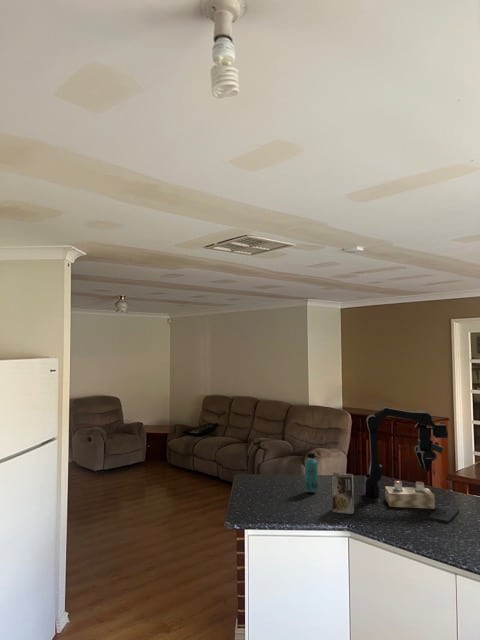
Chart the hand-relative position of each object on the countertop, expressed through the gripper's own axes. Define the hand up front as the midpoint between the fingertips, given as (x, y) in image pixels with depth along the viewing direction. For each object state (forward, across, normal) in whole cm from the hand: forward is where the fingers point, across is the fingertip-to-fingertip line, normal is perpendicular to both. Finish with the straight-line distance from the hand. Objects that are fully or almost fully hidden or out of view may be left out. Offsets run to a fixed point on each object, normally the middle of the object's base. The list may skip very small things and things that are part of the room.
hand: (425, 469), depth 231 cm
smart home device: (+15, -25, -2) cm, 29 cm away
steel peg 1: (+10, -10, +15) cm, 20 cm away
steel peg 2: (+10, -10, +5) cm, 15 cm away
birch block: (+14, -10, +10) cm, 20 cm away
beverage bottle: (+15, +2, +56) cm, 58 cm away
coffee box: (+15, -25, +42) cm, 51 cm away
